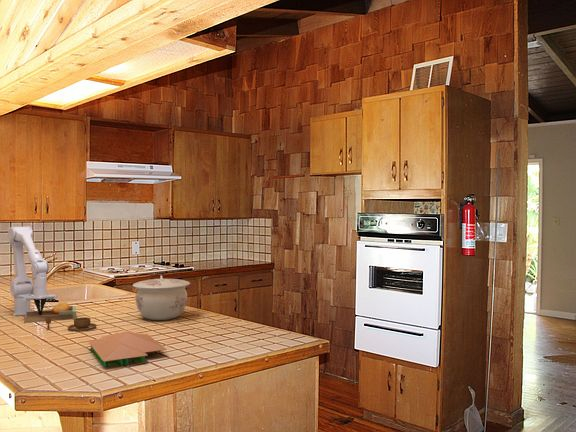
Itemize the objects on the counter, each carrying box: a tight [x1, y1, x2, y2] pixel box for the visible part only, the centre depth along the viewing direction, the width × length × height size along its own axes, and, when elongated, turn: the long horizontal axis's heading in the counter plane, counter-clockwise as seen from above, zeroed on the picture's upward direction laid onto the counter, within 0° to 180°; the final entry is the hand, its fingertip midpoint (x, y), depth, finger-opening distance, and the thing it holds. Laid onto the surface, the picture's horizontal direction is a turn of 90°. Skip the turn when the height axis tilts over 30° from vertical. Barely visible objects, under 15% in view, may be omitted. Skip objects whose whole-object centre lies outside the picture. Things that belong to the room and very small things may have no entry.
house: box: [87, 331, 167, 369], centre depth 203 cm, size 23×33×8 cm
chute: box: [23, 305, 77, 324], centre depth 267 cm, size 14×23×4 cm, turn 112°
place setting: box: [44, 317, 100, 333], centre depth 245 cm, size 18×20×6 cm
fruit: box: [51, 302, 70, 315], centre depth 269 cm, size 8×8×8 cm
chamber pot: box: [132, 275, 191, 322], centre depth 267 cm, size 28×28×21 cm
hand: (40, 314), depth 265 cm, fingers closed
